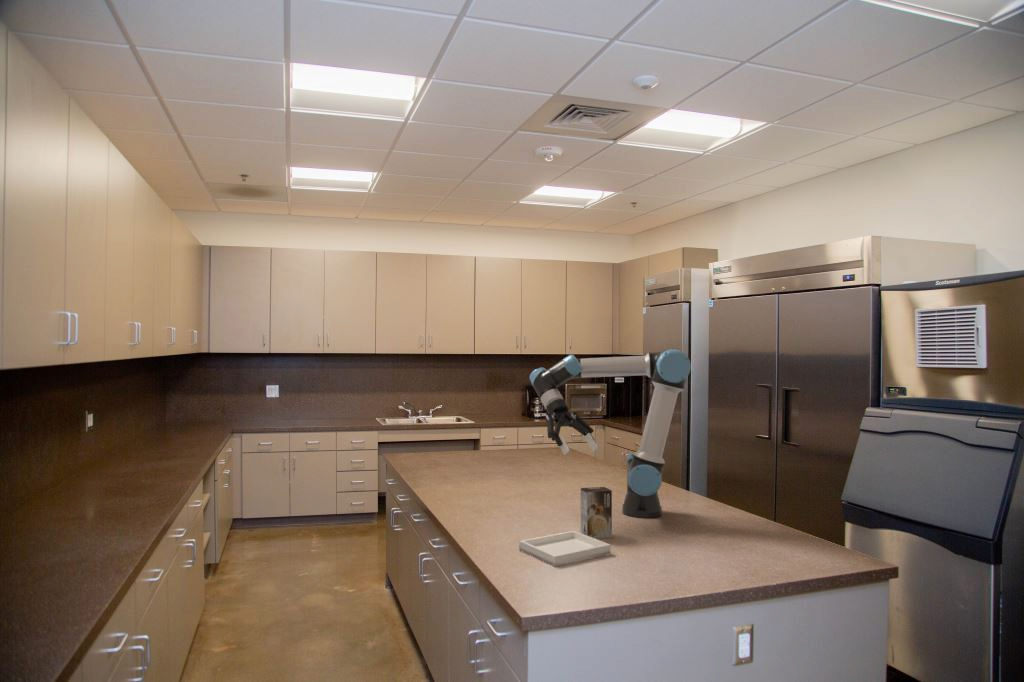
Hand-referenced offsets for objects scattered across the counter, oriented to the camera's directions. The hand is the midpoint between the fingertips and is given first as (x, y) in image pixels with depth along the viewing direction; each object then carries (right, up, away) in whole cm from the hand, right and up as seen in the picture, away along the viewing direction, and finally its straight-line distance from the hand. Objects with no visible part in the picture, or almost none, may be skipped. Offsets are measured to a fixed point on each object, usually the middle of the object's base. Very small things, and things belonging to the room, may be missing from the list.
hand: (581, 451), depth 229 cm
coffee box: (+4, -28, -7) cm, 29 cm away
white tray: (-8, -27, -25) cm, 38 cm away
